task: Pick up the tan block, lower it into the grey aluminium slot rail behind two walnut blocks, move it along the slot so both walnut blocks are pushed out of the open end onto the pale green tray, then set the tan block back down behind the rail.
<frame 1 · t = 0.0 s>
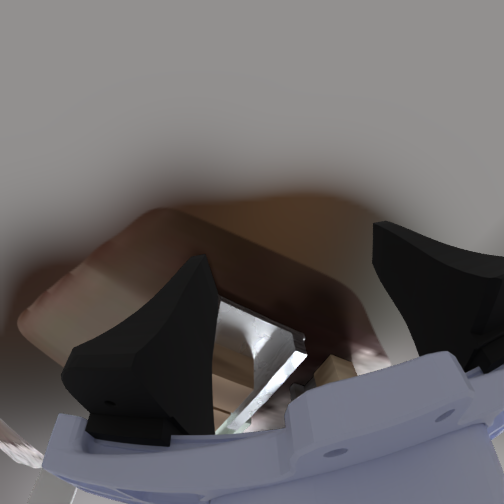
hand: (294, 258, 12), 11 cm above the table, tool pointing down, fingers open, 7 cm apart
walnut block 1: (225, 364, 26), point 1 cm above the table, touching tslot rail
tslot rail: (225, 360, 27), on the table
tan block: (332, 368, 27), on the table
walnut block 2: (207, 389, 27), point 1 cm above the table, touching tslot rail
milk: (79, 434, 35), on the table
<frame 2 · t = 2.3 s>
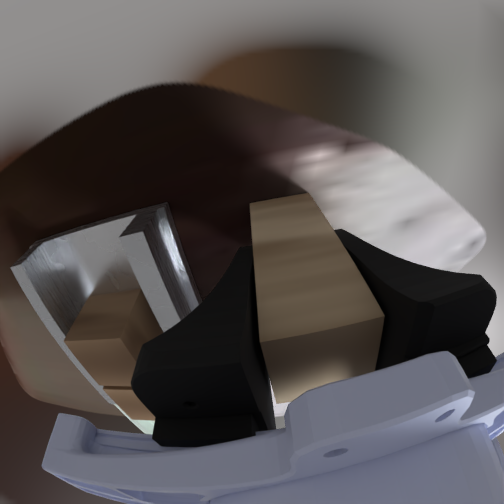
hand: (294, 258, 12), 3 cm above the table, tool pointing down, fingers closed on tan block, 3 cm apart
walnut block 1: (126, 317, 17), point 1 cm above the table, touching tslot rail
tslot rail: (131, 311, 17), on the table
tan block: (283, 224, 15), on the table, touching gripper
walnut block 2: (153, 361, 19), point 1 cm above the table, touching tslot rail
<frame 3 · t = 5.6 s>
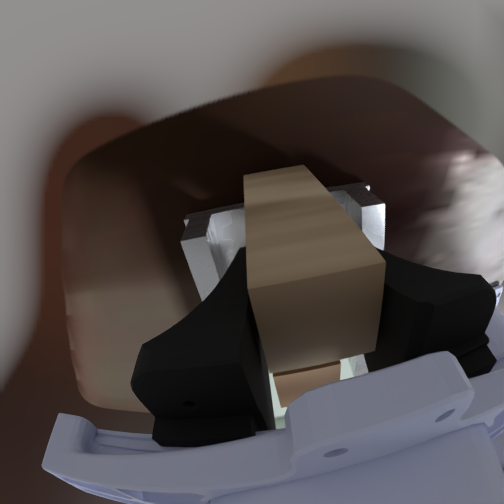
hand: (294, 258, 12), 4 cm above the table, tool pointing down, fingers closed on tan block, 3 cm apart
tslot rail: (291, 291, 18), on the table
tan block: (278, 197, 14), point 1 cm above the table, touching gripper
tray: (304, 389, 24), on the table
walnut block 2: (299, 343, 20), point 1 cm above the table, touching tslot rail
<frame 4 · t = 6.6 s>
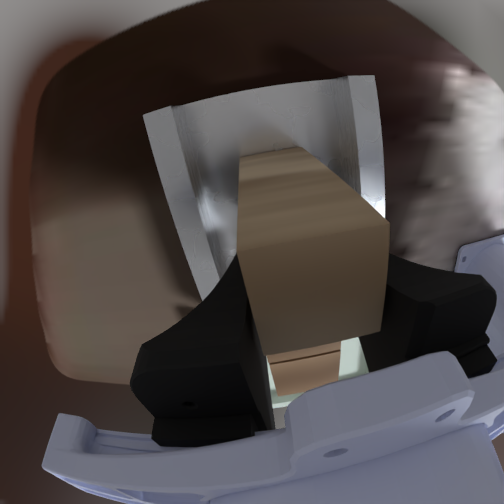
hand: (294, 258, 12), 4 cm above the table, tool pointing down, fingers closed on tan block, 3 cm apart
walnut block 1: (290, 284, 17), point 1 cm above the table
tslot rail: (279, 208, 15), on the table
tan block: (276, 181, 14), point 1 cm above the table, touching gripper
tray: (300, 352, 21), on the table
walnut block 2: (297, 328, 19), point 1 cm above the table
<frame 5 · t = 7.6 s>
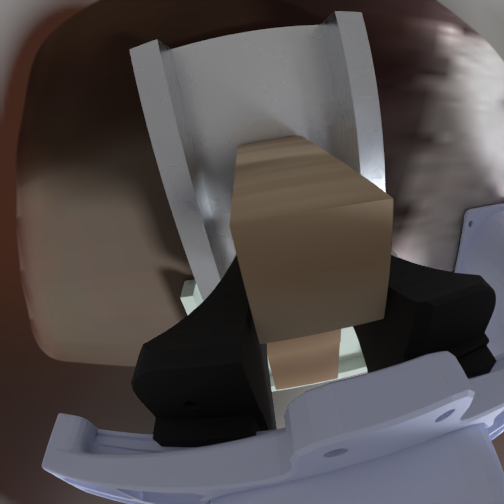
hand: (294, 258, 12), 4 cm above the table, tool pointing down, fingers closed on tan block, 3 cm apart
walnut block 1: (289, 276, 17), point 1 cm above the table, touching tan block, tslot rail, walnut block 2
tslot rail: (270, 155, 14), on the table
tan block: (274, 170, 13), point 1 cm above the table, touching gripper, walnut block 1
tray: (297, 326, 20), on the table
walnut block 2: (295, 321, 19), resting on tray, touching walnut block 1
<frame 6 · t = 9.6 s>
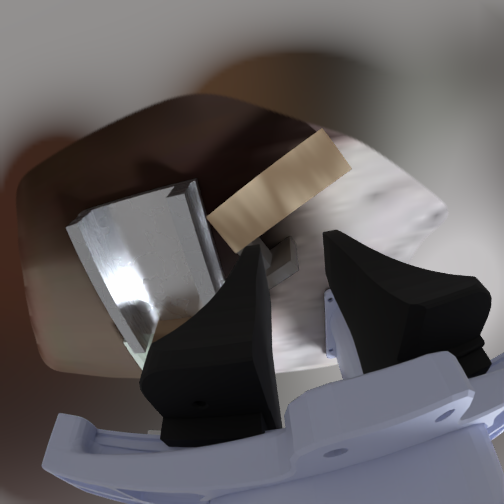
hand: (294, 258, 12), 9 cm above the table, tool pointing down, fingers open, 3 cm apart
walnut block 1: (185, 333, 26), point 1 cm above the table, touching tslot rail, walnut block 2
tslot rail: (160, 267, 23), on the table
tan block: (225, 229, 20), point 2 cm above the table, tilted 90°
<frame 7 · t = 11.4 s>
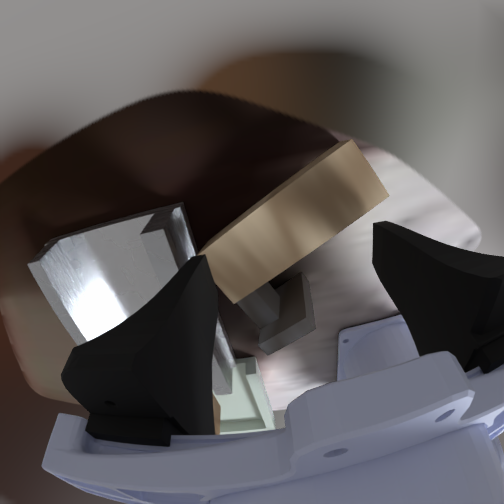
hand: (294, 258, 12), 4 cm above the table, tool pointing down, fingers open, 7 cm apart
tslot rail: (144, 306, 19), on the table
tan block: (220, 269, 15), point 2 cm above the table, tilted 90°
tray: (198, 398, 24), on the table
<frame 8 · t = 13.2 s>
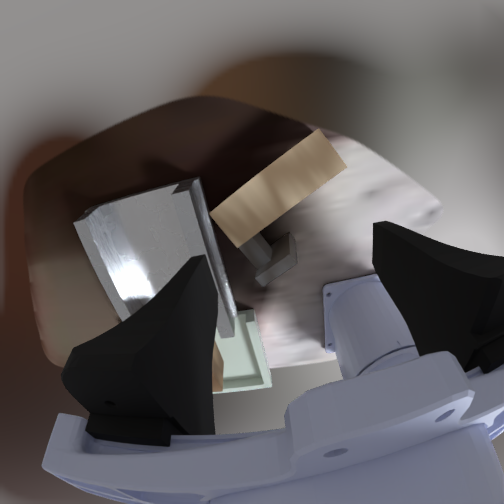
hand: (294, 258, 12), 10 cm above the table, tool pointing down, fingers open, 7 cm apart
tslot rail: (164, 262, 24), on the table
tan block: (227, 225, 20), point 2 cm above the table, tilted 90°
tray: (204, 354, 30), on the table
walnut block 2: (200, 352, 29), point 1 cm above the table, touching tray, walnut block 1
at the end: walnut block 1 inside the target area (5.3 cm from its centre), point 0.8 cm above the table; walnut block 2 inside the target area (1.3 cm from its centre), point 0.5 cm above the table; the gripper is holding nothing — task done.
